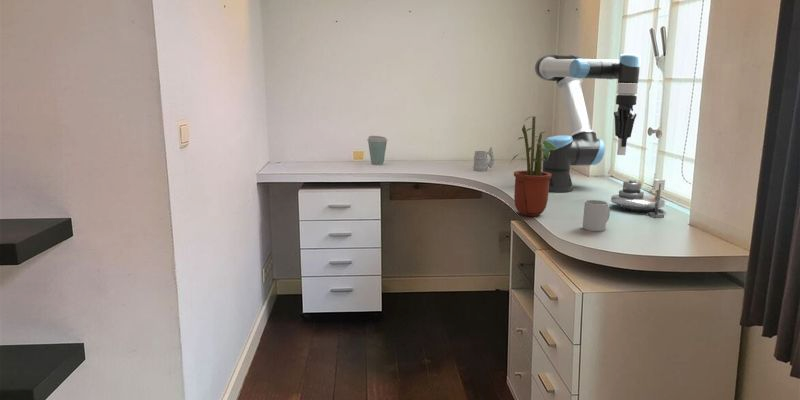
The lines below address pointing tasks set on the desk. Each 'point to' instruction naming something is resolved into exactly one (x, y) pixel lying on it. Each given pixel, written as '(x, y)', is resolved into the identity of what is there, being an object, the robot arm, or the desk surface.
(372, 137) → the disposable coffee cup
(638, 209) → the turntable base
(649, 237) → the desk surface
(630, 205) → the turntable
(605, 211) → the cup
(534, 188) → the potted plant
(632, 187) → the cover
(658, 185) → the dial gauge
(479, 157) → the mug
